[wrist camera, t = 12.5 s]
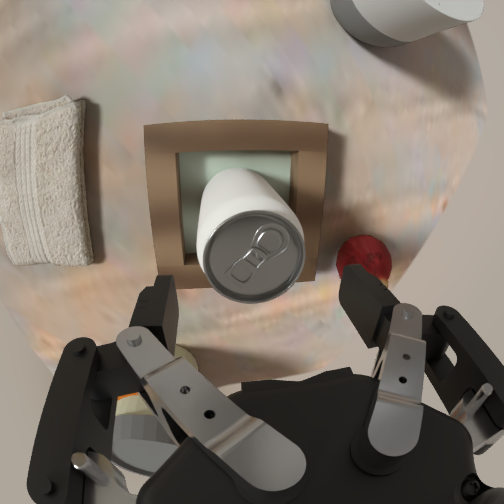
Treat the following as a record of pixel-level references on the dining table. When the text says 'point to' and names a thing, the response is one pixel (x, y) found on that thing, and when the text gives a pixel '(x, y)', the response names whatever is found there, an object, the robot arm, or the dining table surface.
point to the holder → (219, 159)
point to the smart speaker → (402, 18)
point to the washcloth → (44, 184)
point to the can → (248, 238)
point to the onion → (366, 256)
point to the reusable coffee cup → (142, 432)
